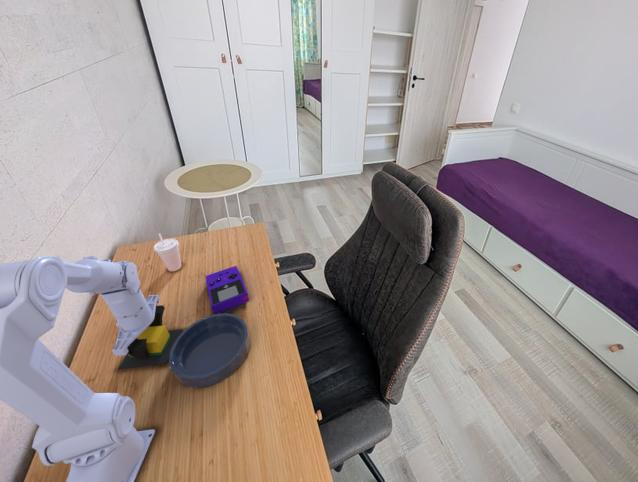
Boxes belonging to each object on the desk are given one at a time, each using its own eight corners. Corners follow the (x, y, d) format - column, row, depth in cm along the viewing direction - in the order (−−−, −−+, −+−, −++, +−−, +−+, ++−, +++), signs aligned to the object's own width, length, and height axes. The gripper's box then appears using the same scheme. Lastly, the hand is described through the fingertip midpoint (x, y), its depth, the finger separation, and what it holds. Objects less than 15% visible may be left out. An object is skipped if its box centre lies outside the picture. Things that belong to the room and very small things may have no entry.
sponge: (162, 354, 68) (156, 342, 65) (130, 357, 67) (122, 345, 64) (171, 337, 72) (165, 325, 69) (140, 340, 71) (133, 328, 68)
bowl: (241, 384, 64) (237, 373, 61) (161, 394, 61) (154, 383, 59) (256, 321, 78) (253, 310, 75) (191, 327, 75) (186, 316, 73)
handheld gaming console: (236, 264, 91) (247, 291, 80) (239, 277, 93) (250, 305, 82) (204, 275, 86) (210, 305, 75) (208, 288, 89) (215, 319, 77)
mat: (166, 364, 66) (166, 363, 66) (119, 369, 65) (118, 368, 65) (183, 330, 74) (182, 329, 74) (140, 334, 73) (139, 332, 72)
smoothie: (164, 263, 94) (150, 229, 87) (187, 258, 97) (175, 225, 90) (161, 276, 89) (146, 241, 82) (185, 271, 92) (172, 237, 85)
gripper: (128, 283, 67) (148, 320, 74) (85, 339, 55) (113, 377, 62) (161, 281, 68) (177, 317, 75) (125, 335, 56) (149, 373, 63)
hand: (150, 344), depth 69 cm, fingers open, 6 cm apart
